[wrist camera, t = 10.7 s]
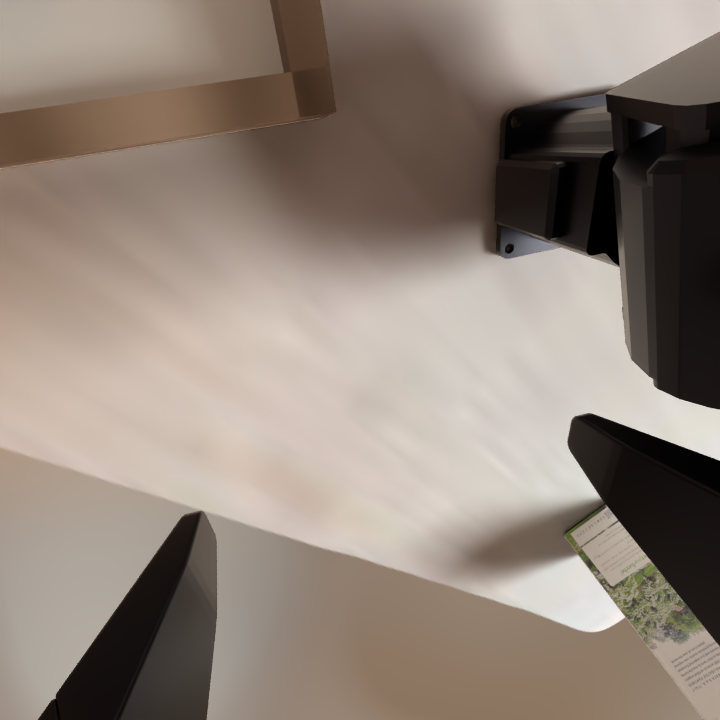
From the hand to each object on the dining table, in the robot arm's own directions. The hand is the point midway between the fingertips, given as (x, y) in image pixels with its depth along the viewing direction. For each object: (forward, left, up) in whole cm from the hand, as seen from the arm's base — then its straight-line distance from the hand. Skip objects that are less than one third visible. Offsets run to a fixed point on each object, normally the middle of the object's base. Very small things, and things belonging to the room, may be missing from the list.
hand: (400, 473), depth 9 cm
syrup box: (-20, +26, -12) cm, 35 cm away
